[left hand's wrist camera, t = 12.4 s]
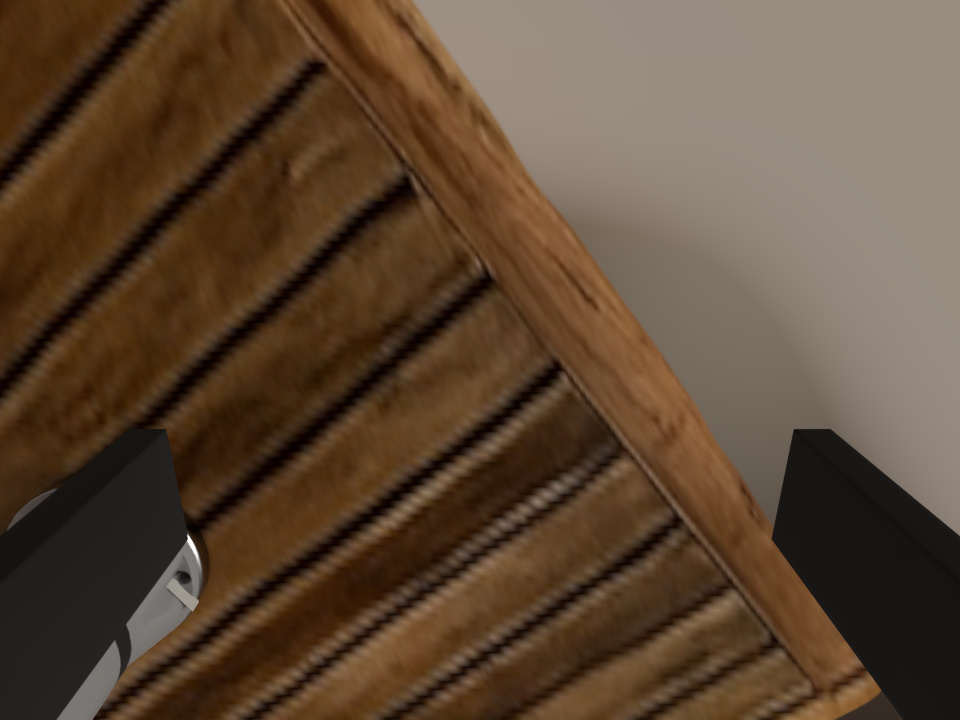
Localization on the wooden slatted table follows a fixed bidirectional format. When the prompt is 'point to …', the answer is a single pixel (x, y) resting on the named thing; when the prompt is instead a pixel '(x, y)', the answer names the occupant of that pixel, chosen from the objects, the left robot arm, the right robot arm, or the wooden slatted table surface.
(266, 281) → the wooden slatted table surface
